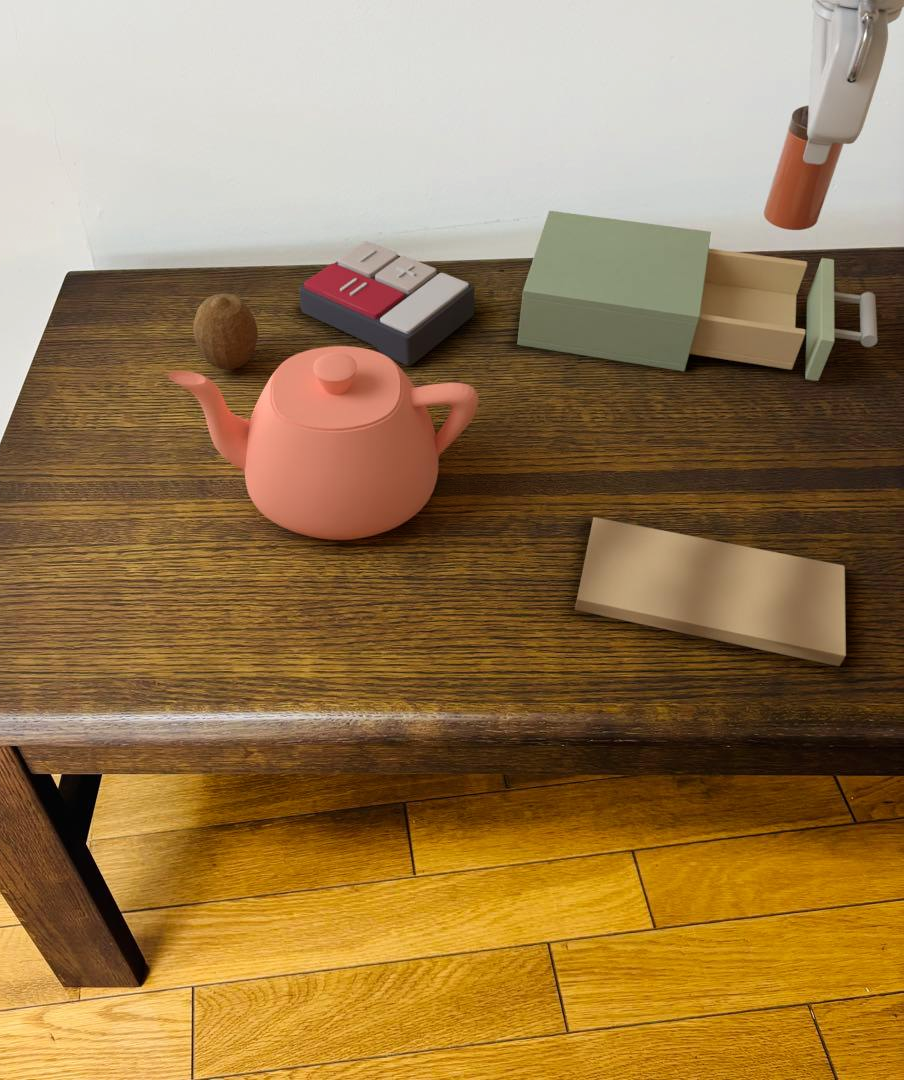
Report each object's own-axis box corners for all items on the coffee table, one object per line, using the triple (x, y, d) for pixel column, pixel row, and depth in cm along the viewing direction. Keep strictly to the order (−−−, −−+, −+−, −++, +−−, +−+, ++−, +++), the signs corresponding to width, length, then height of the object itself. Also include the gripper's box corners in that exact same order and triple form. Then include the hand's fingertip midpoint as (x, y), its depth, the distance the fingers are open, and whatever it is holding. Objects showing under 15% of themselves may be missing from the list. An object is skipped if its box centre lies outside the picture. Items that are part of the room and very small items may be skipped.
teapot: (182, 555, 84) (151, 440, 74) (204, 420, 95) (181, 303, 85) (478, 551, 84) (488, 434, 73) (467, 416, 95) (474, 298, 84)
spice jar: (818, 205, 90) (851, 107, 83) (817, 233, 87) (851, 134, 80) (764, 199, 91) (793, 102, 84) (762, 226, 88) (791, 128, 81)
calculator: (364, 234, 108) (476, 278, 101) (367, 269, 112) (475, 314, 104) (295, 282, 103) (408, 332, 96) (300, 316, 106) (410, 367, 99)
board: (838, 576, 81) (845, 565, 80) (839, 667, 75) (846, 655, 74) (591, 528, 85) (593, 516, 84) (574, 610, 79) (577, 598, 78)
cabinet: (696, 286, 107) (711, 231, 102) (684, 371, 98) (699, 316, 93) (542, 264, 110) (549, 210, 105) (517, 344, 101) (522, 290, 96)
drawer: (863, 305, 102) (880, 265, 99) (866, 389, 94) (884, 348, 90) (666, 277, 106) (675, 238, 103) (652, 355, 98) (662, 315, 94)
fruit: (187, 367, 100) (173, 301, 94) (231, 336, 103) (220, 271, 97) (230, 393, 98) (219, 326, 92) (274, 360, 101) (266, 294, 95)
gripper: (923, 23, 66) (854, 211, 77) (911, -83, 79) (853, 91, 89) (823, 16, 68) (768, 201, 78) (826, -88, 80) (779, 84, 91)
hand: (814, 142), depth 84 cm, fingers closed on spice jar, 4 cm apart
